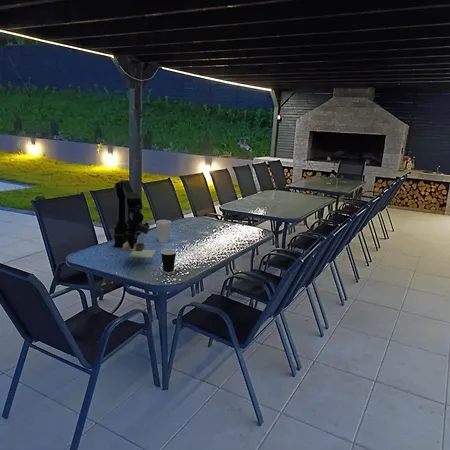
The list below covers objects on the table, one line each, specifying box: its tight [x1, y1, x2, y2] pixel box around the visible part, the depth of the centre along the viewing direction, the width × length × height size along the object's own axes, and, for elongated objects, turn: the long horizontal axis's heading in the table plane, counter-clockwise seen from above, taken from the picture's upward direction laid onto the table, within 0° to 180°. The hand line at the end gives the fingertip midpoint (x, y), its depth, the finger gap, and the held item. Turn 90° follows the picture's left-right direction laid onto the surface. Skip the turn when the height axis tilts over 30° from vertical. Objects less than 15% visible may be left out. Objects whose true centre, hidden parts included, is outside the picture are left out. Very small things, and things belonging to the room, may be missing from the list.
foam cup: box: [155, 219, 172, 244], centre depth 254 cm, size 10×9×13 cm
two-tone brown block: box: [122, 242, 145, 252], centre depth 213 cm, size 10×5×3 cm, turn 89°
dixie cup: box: [160, 248, 177, 275], centre depth 200 cm, size 8×8×11 cm
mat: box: [128, 249, 157, 260], centre depth 227 cm, size 13×13×1 cm
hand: (133, 247), depth 213 cm, fingers closed on two-tone brown block, 5 cm apart
